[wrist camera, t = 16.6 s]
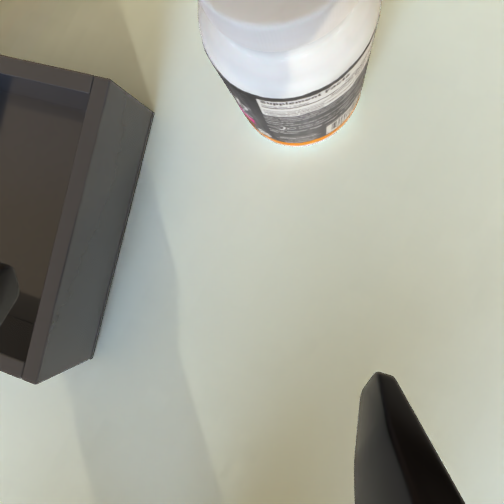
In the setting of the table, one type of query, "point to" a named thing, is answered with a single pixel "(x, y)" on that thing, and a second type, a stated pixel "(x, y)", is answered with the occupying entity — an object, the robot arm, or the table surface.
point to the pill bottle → (291, 61)
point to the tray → (62, 208)
